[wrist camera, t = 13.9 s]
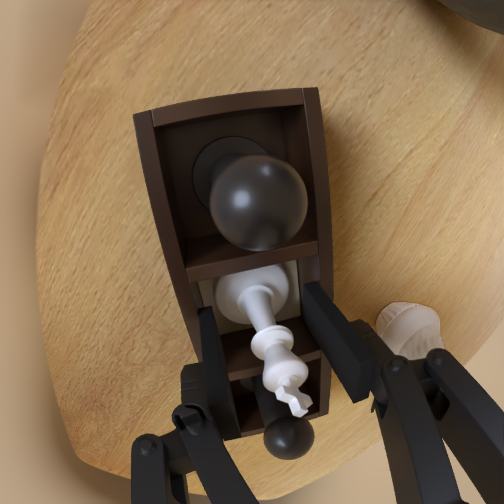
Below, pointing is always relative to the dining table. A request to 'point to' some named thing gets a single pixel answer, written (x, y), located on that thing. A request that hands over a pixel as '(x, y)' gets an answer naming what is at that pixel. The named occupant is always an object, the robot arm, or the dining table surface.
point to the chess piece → (266, 328)
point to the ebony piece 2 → (280, 423)
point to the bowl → (480, 12)
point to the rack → (224, 252)
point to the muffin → (409, 329)
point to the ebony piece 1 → (249, 193)
